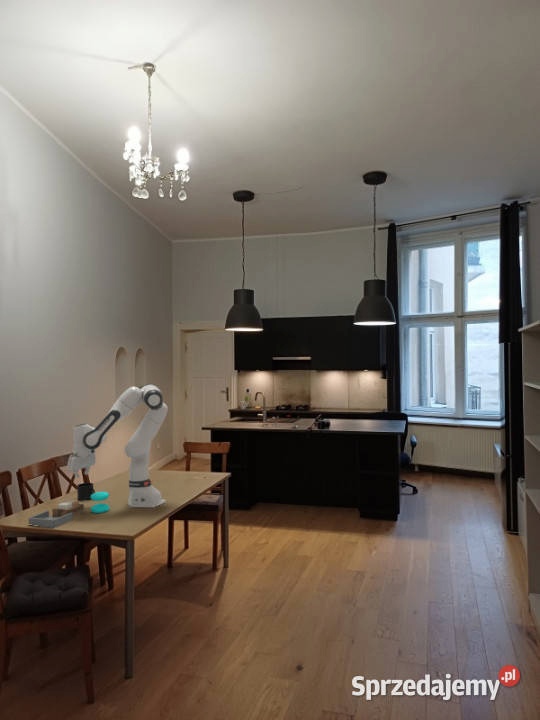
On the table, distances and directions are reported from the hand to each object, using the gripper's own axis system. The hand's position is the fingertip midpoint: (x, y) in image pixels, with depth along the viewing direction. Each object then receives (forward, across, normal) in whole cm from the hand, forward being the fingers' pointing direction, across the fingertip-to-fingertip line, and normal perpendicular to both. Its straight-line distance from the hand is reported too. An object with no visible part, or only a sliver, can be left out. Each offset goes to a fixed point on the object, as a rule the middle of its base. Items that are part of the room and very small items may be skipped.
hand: (81, 476), depth 301 cm
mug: (+20, +20, +13) cm, 31 cm away
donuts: (+20, 0, -12) cm, 23 cm away
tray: (+19, -25, 0) cm, 32 cm away
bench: (+19, -12, 0) cm, 23 cm away
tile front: (+14, -14, 0) cm, 20 cm away
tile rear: (+14, -9, 0) cm, 17 cm away
